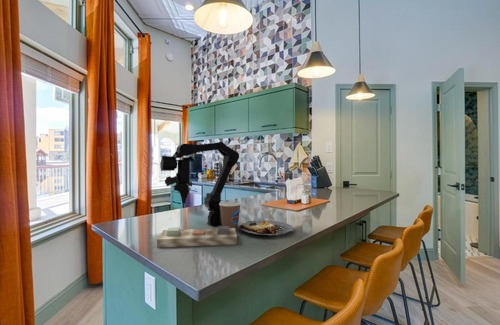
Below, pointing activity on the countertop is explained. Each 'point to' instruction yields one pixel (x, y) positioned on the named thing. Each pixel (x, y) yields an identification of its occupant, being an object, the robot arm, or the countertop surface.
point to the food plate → (265, 227)
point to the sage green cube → (173, 231)
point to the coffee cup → (230, 214)
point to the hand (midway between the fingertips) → (183, 203)
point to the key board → (197, 238)
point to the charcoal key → (223, 229)
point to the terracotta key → (199, 232)
